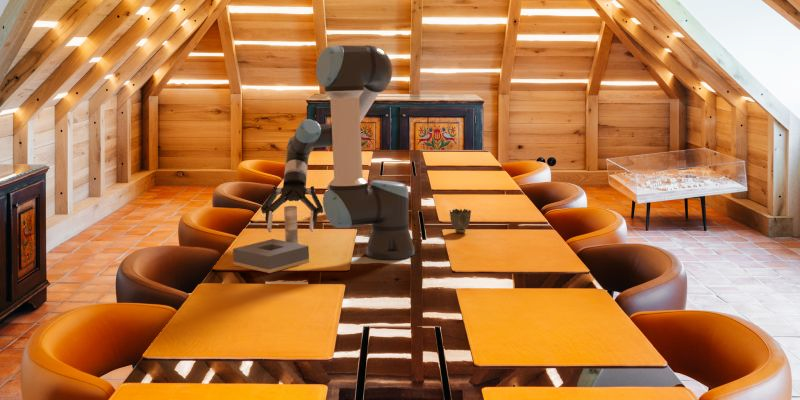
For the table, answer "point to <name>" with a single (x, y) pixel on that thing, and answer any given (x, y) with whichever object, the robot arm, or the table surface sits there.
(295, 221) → the birch peg
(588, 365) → the table surface
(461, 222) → the cup
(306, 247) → the socket block
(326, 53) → the robot arm
